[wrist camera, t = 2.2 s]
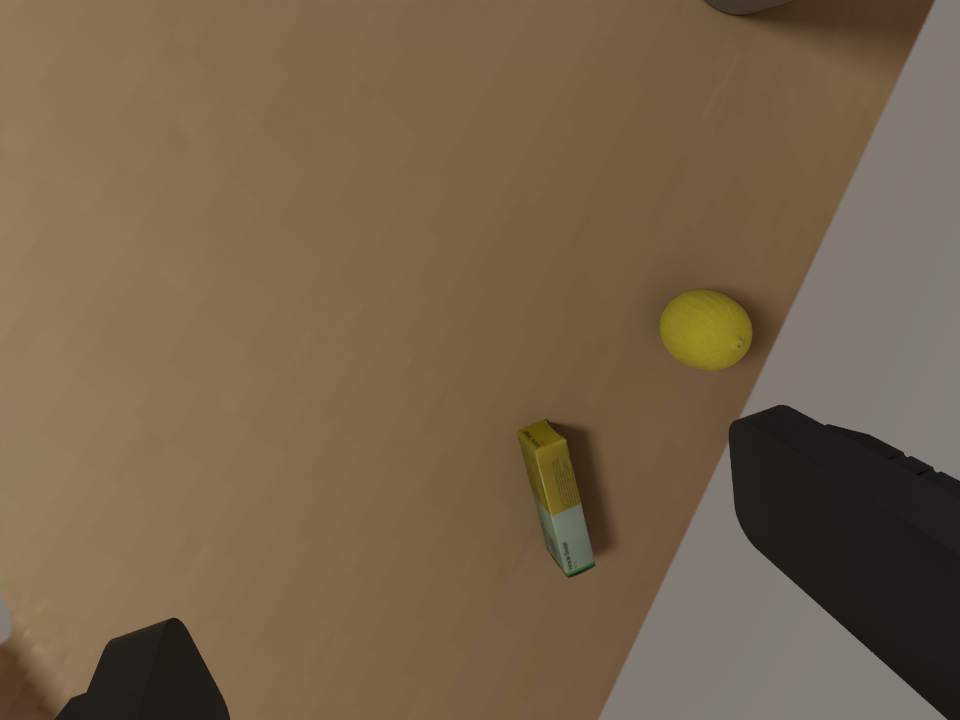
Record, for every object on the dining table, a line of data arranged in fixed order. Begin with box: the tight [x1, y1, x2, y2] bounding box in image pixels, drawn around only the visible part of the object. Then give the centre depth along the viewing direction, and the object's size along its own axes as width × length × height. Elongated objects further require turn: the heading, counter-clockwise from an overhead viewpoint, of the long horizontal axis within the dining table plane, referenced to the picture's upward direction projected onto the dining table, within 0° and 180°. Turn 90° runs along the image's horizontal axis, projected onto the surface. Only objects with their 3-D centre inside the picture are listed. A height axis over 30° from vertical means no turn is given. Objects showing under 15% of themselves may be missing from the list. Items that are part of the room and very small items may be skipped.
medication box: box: [517, 420, 595, 578], centre depth 48 cm, size 12×3×4 cm, turn 15°
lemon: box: [659, 289, 753, 370], centre depth 44 cm, size 6×6×8 cm
